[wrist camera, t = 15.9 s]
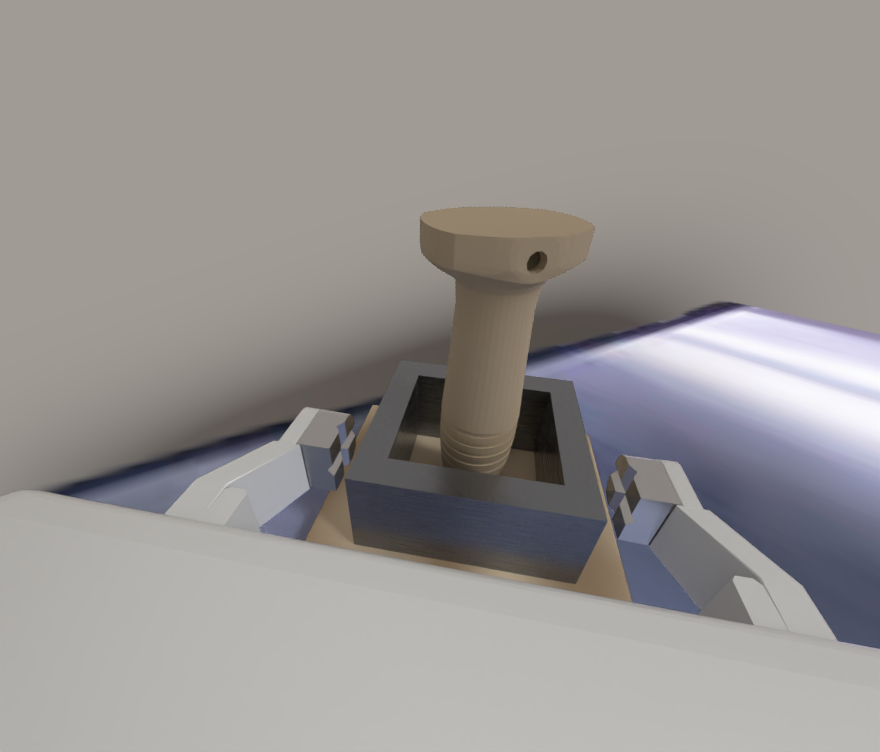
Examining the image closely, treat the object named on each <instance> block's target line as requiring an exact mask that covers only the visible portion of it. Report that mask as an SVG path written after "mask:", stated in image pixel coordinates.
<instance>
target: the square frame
mask: <svg viewBox="0 0 880 752" xmlns="http://www.w3.org/2000/svg"><path fill="white" fill-rule="evenodd" d="M446 372H447V366H446V365H438V364H430V363H422V362H414V361H406V360H401V361H400V363H399V365H398V367H397V369H396V371H395V373H394V375H393V378H392V379H391V382H390V384H389V386H388V388H387V390H386V392H385V394H384V396H383V398H382V400H381V403H380V405H379V407H378V409H377V411H376V413H375V415H374V417H373V419H372V422H371V424H370V426H369V428H368V430H367V432H366V434H365V436H364V438H363V440H362V443H361V445H360V447H359V449H358V451H357V453H356V455H355V457H354V459H353V462H352V464H351V466H350V468H349V470H348V472H347V474H346V476H345V478H344V479H345V486H346V493H347V500H348V506H349V513H350V520H351V527H352V534H353V541H354V544H355V545H360V546H366V547H372V548H377V549H383V550H388V551H394V552H399V553H405V554H410V555H416V556H421V557H427V558H432V559H438V560H443V561H449V562H454V563H460V564H465V565H471V566H476V567H482V568H488V569H493V570H499V571H504V572H510V573H515V574H521V575H526V576H532V577H537V578H543V579H548V580H554V581H559V582H565V583H570V584H576V583H577V581H578V579H579V577H580V575H581V573H582V571H583V569H584V567H585V565H586V563H587V561H588V559H589V557H590V555H591V553H592V551H593V549H594V547H595V545H596V543H597V541H598V539H599V538H600V536H601V534H602V532H603V530H604V528H605V526H606V524H607V522H608V520H607V517H606V513H605V509H604V505H603V501H602V497H601V493H600V489H599V485H598V481H597V477H596V473H595V469H594V465H593V461H592V457H591V453H590V449H589V445H588V441H587V437H586V433H585V429H584V425H583V421H582V417H581V413H580V409H579V405H578V401H577V397H576V393H575V389H574V385H573V381H565V380H557V379H549V378H541V377H533V376H526V375H525V377H524V384H523V391H522V399H521V406H520V413H519V418H518V423H517V427H516V432H515V436H514V440H513V443H512V446H511V449H518V450H525V451H532V452H534V457H535V470H536V481H531V480H525V479H518V478H512V477H506V476H499V475H493V474H486V473H480V472H473V471H467V470H460V469H454V468H447V467H441V466H434V465H428V464H421V463H415V462H409V461H410V458H411V454H412V451H413V448H414V445H415V441H416V438H417V435H422V436H429V437H436V438H440V420H441V408H442V399H443V392H444V385H445V379H446Z"/></svg>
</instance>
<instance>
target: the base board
mask: <svg viewBox="0 0 880 752" xmlns="http://www.w3.org/2000/svg"><path fill="white" fill-rule="evenodd" d="M378 407H379V406H377V405H372V407H371V409H370V411H369V413H368V415H367V417H366V419H365V421H364V423H363V425H362V427H361V429H360V431H359V433H358V435H357V437H356V447H355V451H354V455H353V458H352V460H351V462H350V464H348V465H347V466H345V467H344V473H345V475H344V477H343V479H342V481H341V483H340V485H339V487H338V489H337V491H332V490H330V491H329V494H328V496H327V498H326V500H325V502H324V504H323V506H322V508H321V510H320V512H319V514H318V516H317V518H316V520H315V522H314V524H313V526H312V528H311V530H310V532H309V534H308V536H307V538H306V540H305V541H309V542H314V543H319V544H325V545H330V546H335V547H340V548H346V549H351V550H356V551H362V552H367V553H372V554H378V555H383V556H388V557H394V558H399V559H404V560H410V561H415V562H420V563H425V564H431V565H436V566H441V567H447V568H452V569H457V570H462V571H468V572H473V573H478V574H484V575H489V576H494V577H499V578H505V579H510V580H515V581H521V582H526V583H532V584H537V585H542V586H548V587H553V588H558V589H564V590H569V591H574V592H580V593H585V594H591V595H596V596H601V597H607V598H612V599H617V600H623V601H628V602H632V600H631V596H630V592H629V588H628V584H627V580H626V577H625V573H624V569H623V565H622V561H621V557H620V554H619V550H618V546H617V542H616V538H615V534H614V531H613V527H612V523H611V519H610V515H609V511H608V508H607V504H606V500H605V496H604V492H603V488H602V484H601V481H600V477H599V473H598V469H597V465H596V461H595V458H594V454H593V450H592V446H591V442H590V438H589V435H586V437H587V441H588V445H589V449H590V453H591V457H592V461H593V465H594V469H595V473H596V477H597V481H598V485H599V489H600V493H601V497H602V501H603V505H604V509H605V513H606V517H607V520H608V522H607V524H606V526H605V528H604V530H603V532H602V534H601V536H600V538H599V539H598V541H597V543H596V545H595V547H594V549H593V551H592V553H591V555H590V557H589V559H588V561H587V563H586V565H585V567H584V569H583V571H582V573H581V575H580V577H579V579H578V581H577V583H576V584H570V583H565V582H559V581H554V580H548V579H543V578H537V577H532V576H526V575H521V574H515V573H510V572H504V571H499V570H493V569H488V568H482V567H476V566H471V565H465V564H460V563H454V562H449V561H443V560H438V559H432V558H427V557H421V556H416V555H410V554H405V553H399V552H394V551H388V550H383V549H377V548H372V547H366V546H360V545H355V544H354V541H353V534H352V527H351V520H350V513H349V506H348V500H347V493H346V486H345V479H344V478H345V476H346V474H347V472H348V470H349V468H350V466H351V464H352V462H353V459H354V457H355V455H356V453H357V451H358V449H359V447H360V445H361V443H362V440H363V438H364V436H365V434H366V432H367V430H368V428H369V426H370V424H371V422H372V419H373V417H374V415H375V413H376V411H377V409H378ZM409 462H415V463H421V464H428V465H434V466H441V467H442V464H443V462H442V456H441V445H440V438H436V437H429V436H422V435H417V438H416V441H415V445H414V448H413V451H412V454H411V458H410V461H409ZM501 476H506V477H512V478H518V479H525V480H531V481H536V470H535V457H534V452H532V451H525V450H518V449H511V450H510V453H509V456H508V458H507V461H506V464H505V466H504V468H503V470H502V472H501Z"/></svg>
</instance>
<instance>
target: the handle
mask: <svg viewBox="0 0 880 752" xmlns="http://www.w3.org/2000/svg"><path fill="white" fill-rule="evenodd" d="M594 230H595V227H594V225H593V224H592V223H590V222H588V221H586V220H583V219H581V218H578V217H575V216H572V215H568V214H564V213H560V212H556V211H550V210H543V209H529V208H515V207H459V208H450V209H442V210H436V211H429V212H424V213H423V214H422V215H421V216H420V246H421V251H422V254H423V255H424V256H425V257H426V258H427V259H428V261H430V262H431V263H432V264H433V265H435V266H436V267H437V268H438V269H440V270H442V271H443V272H445V273H447V274H449V275H451V276H452V277H454V278H455V279H456V304H455V312H454V320H453V328H452V336H451V344H450V352H449V358H448V365H447V372H446V379H445V385H444V392H443V399H442V408H441V420H440V445H441V456H442V462H443V464H442V467H447V468H454V469H460V470H467V471H473V472H480V473H486V474H493V475H499V476H501V472H502V470H503V468H504V466H505V464H506V461H507V458H508V456H509V453H510V450H511V446H512V443H513V440H514V436H515V432H516V427H517V423H518V418H519V413H520V406H521V399H522V391H523V384H524V377H525V370H526V362H527V356H528V350H529V343H530V337H531V331H532V325H533V318H534V312H535V307H536V304H537V300H538V297H539V293H540V290H541V286H542V285H543V284H544V283H545V282H546V281H548V280H549V279H552V278H554V277H556V276H558V275H560V274H563V273H565V272H567V271H569V270H571V269H573V268H574V267H576V266H578V265H579V264H581V263H582V262H584V261H585V259H586V257H587V254H588V252H589V248H590V245H591V241H592V238H593V234H594Z"/></svg>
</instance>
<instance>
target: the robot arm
mask: <svg viewBox="0 0 880 752" xmlns="http://www.w3.org/2000/svg"><path fill="white" fill-rule="evenodd" d="M353 426H354V418H353V416H352V415H351V414H346V413H340V412H335V411H329V410H323V409H315V408H309V407H306V408H304V409H302V411H301V412H300V413H299V415H298V416H297V417H296V418H295V420H294V421H293V422H292V424H291V425H290V426H289V428H288V429H287V430H286V432H285V433H284V434H283V436H282V437H281V438H280V440H279V441H272V442H270V443H268V444H266V445H264V446H262V447H260V448H258V449H256V450H254V451H252V452H250V453H248V454H246V455H244V456H242V457H240V458H238V459H236V460H234V461H232V462H230V463H228V464H225V465H223V466H221V467H219V468H217V469H215V470H213V471H211V472H209V473H207V474H205V475H203V476H201V477H199V478H197V479H196V480H195V481H194V482H193V483H192V484H191V485H190V486H189V487H188V488H187V489H186V491H185V492H184V493H183V494H182V495H181V496H180V497H179V498H178V499H177V500H176V502H175V503H174V504H173V505H172V506H171V507H170V508H169V509H168V510H167V511H166V512H165V514H160V513H154V512H149V511H144V510H138V509H133V508H128V507H122V506H117V505H112V504H106V503H101V502H96V501H90V500H85V499H80V498H74V497H69V496H64V495H59V494H55V493H50V492H45V491H38V490H20V491H15V492H12V493H8V494H5V495H2V496H0V752H880V649H878V648H872V647H867V646H862V645H856V644H851V643H846V642H840V641H838V640H837V639H836V637H835V635H834V634H833V632H832V631H831V629H830V628H829V626H828V625H827V623H826V621H825V620H824V618H823V617H822V615H821V614H820V612H819V611H818V609H817V607H816V606H815V604H814V603H813V601H812V600H811V598H810V596H809V595H808V593H807V592H806V590H805V589H804V587H803V586H802V585H801V584H800V583H798V582H797V581H796V580H795V579H793V578H792V577H791V576H790V575H788V574H787V573H786V572H785V571H784V570H782V569H781V568H780V567H779V566H777V565H776V564H775V563H774V562H772V561H771V560H770V559H769V558H768V557H766V556H765V555H764V554H763V553H761V552H760V551H759V550H758V549H756V548H755V547H754V546H753V545H752V544H750V543H749V542H748V541H747V540H745V539H744V538H743V537H742V536H740V535H739V534H738V533H737V532H736V531H734V530H733V529H732V528H731V527H729V526H728V525H727V524H726V523H724V522H723V521H722V520H721V519H720V518H718V517H717V516H716V515H715V514H713V513H712V512H711V511H710V510H705V509H703V507H702V505H701V503H700V501H699V499H698V498H697V496H696V494H695V492H694V490H693V488H692V486H691V484H690V482H689V480H688V478H687V476H686V474H685V473H684V471H683V469H682V467H681V465H680V464H679V463H678V462H674V461H667V460H659V459H658V460H656V459H650V458H643V457H636V456H629V455H621V456H620V457H618V459H617V462H616V467H617V471H615V472H613V473H612V474H610V477H609V479H608V482H607V489H606V493H607V500H608V505H609V506H610V507H611V508H612V509H613V510H614V512H615V514H614V516H613V518H612V520H613V524H614V527H615V531H616V535H617V538H618V540H623V541H628V542H633V543H638V544H643V545H648V546H649V548H650V549H651V550H652V552H653V553H654V554H655V555H656V557H657V558H658V559H659V560H660V561H661V563H662V564H663V565H664V566H665V568H666V569H667V570H668V571H669V572H670V574H671V575H672V576H673V577H674V579H675V580H676V581H677V582H678V584H679V585H680V586H681V587H682V588H683V590H684V591H685V592H686V593H687V595H688V596H689V597H690V598H691V599H692V601H693V602H694V603H695V604H696V606H697V607H698V608H699V609H700V611H701V612H700V613H699V614H698V615H697V614H692V613H686V612H681V611H676V610H670V609H665V608H660V607H654V606H649V605H644V604H639V603H633V602H628V601H623V600H617V599H612V598H607V597H601V596H596V595H591V594H585V593H580V592H574V591H569V590H564V589H558V588H553V587H548V586H542V585H537V584H532V583H526V582H521V581H515V580H510V579H505V578H499V577H494V576H489V575H484V574H478V573H473V572H468V571H462V570H457V569H452V568H447V567H441V566H436V565H431V564H425V563H420V562H415V561H410V560H404V559H399V558H394V557H388V556H383V555H378V554H372V553H367V552H362V551H356V550H351V549H346V548H340V547H335V546H330V545H325V544H319V543H314V542H309V541H303V540H298V539H293V538H287V537H282V536H277V535H271V534H266V533H261V530H260V527H261V526H262V525H263V524H265V523H266V522H267V521H269V520H270V519H271V518H272V517H274V516H275V515H276V514H278V513H279V512H280V511H282V510H283V509H284V508H285V507H287V506H288V505H289V504H291V503H292V502H293V501H295V500H296V499H297V498H299V497H300V496H301V495H302V494H304V493H305V492H306V491H308V490H309V489H310V488H309V487H311V488H318V489H325V490H332V491H337V489H338V487H339V485H340V483H341V481H342V479H343V477H344V475H345V473H344V467H345V466H347V465H348V464H350V462H351V460H352V458H353V455H354V451H355V447H356V435H355V434H354V432H353V431H352V428H353Z"/></svg>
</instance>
